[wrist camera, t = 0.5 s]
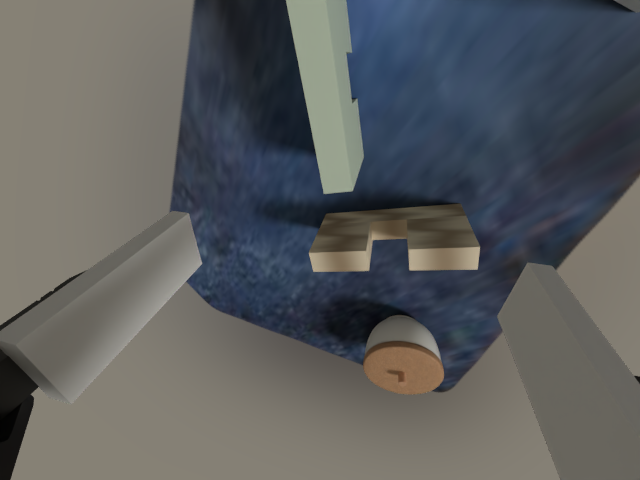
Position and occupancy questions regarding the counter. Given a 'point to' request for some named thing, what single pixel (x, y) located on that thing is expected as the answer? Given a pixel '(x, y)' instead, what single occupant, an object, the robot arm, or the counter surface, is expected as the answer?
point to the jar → (630, 4)
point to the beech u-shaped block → (412, 223)
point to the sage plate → (328, 89)
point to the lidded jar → (403, 357)
